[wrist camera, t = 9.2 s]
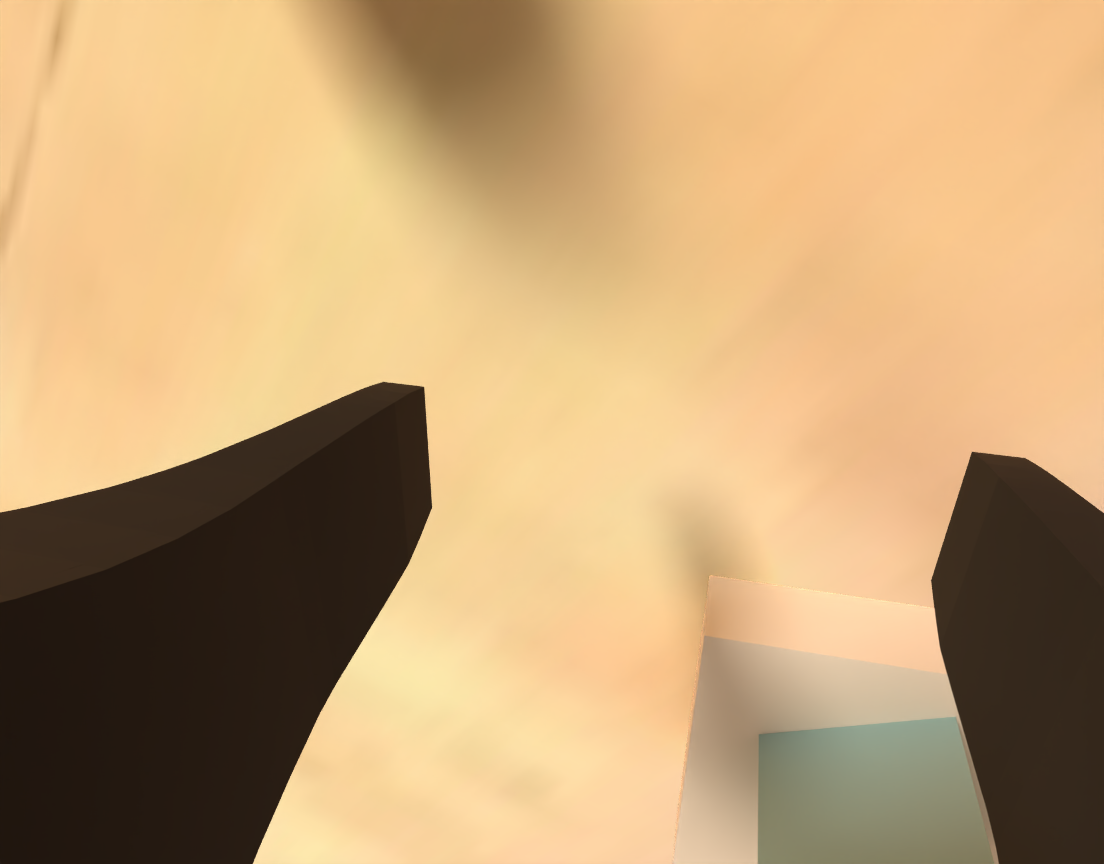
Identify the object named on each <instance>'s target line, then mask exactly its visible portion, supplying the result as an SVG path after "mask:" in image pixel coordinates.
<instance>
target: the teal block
mask: <svg viewBox="0 0 1104 864" xmlns="http://www.w3.org/2000/svg"><path fill="white" fill-rule="evenodd" d="M758 864H994V861H993V857H992V853H991V849H990V845H989V841H988V838H987V834H986V830H985V826H984V822H983V819H982V815H981V811H980V807H979V803H978V800H977V796H976V792H975V788H974V784H973V781H972V777H971V773H970V769H969V765H968V762H967V758H966V754H965V750H964V746H963V743H962V739H961V735H960V731H959V727H958V724H957V720H956V717H946V718H935V719H924V720H912V721H901V722H890V723H879V724H868V725H857V726H846V727H835V728H824V729H813V730H801V731H790V732H779V733H768V734H759V765H758Z"/></svg>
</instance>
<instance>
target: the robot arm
mask: <svg viewBox="0 0 1104 864" xmlns="http://www.w3.org/2000/svg"><path fill="white" fill-rule="evenodd" d="M431 509H432V499H431V484H430V469H429V454H428V439H427V424H426V409H425V393H424V387H421V386H413V385H404V384H396V383H388V382H382V383H379V384H375V385H372V386H369V387H366V388H364V389H361V390H359V391H356V392H354V393H351V394H349V395H347V396H344V397H342V398H340V399H338V400H335V401H333V402H331V403H329V404H326V405H324V406H322V407H320V408H317V409H315V410H313V411H311V412H309V413H306V414H304V415H302V416H300V417H297V418H295V419H293V420H291V421H288V422H286V423H284V424H282V425H280V426H277V427H275V428H273V429H271V430H268V431H266V432H263V433H261V434H259V435H256V436H254V437H251V438H249V439H246V440H244V441H241V442H239V443H236V444H234V445H231V446H229V447H226V448H224V449H221V450H219V451H217V452H214V453H212V454H209V455H207V456H204V457H202V458H199V459H196V460H193V461H191V462H188V463H185V464H182V465H179V466H176V467H173V468H170V469H168V470H165V471H161V472H158V473H155V474H152V475H149V476H145V477H142V478H139V479H136V480H132V481H129V482H126V483H123V484H119V485H116V486H112V487H109V488H105V489H101V490H96V491H92V492H88V493H84V494H80V495H76V496H72V497H68V498H64V499H59V500H55V501H51V502H47V503H43V504H39V505H35V506H31V507H26V508H21V509H17V510H11V511H6V512H1V513H0V864H253V862H254V859H255V857H256V854H257V852H258V849H259V847H260V845H261V842H262V840H263V838H264V836H265V833H266V831H267V829H268V826H269V824H270V822H271V819H272V817H273V815H274V813H275V810H276V808H277V806H278V803H279V801H280V799H281V797H282V794H283V792H284V790H285V787H286V785H287V783H288V781H289V778H290V776H291V774H292V772H293V770H294V767H295V765H296V763H297V761H298V759H299V757H300V755H301V753H302V750H303V748H304V746H305V744H306V742H307V740H308V738H309V735H310V733H311V731H312V729H313V727H314V725H315V723H316V720H317V718H318V716H319V714H320V712H321V710H322V709H323V707H324V705H325V703H326V701H327V699H328V698H329V696H330V694H331V692H332V690H333V689H334V687H335V685H336V683H337V682H338V680H339V678H340V677H341V675H342V673H343V672H344V670H345V669H346V667H347V665H348V664H349V662H350V660H351V659H352V657H353V655H354V654H355V652H356V650H357V649H358V647H359V646H360V644H361V642H362V641H363V639H364V637H365V636H366V634H367V632H368V631H369V629H370V628H371V626H372V624H373V623H374V621H375V619H376V618H377V616H378V614H379V613H380V611H381V610H382V608H383V606H384V605H385V603H386V601H387V600H388V598H389V596H390V595H391V593H392V591H393V590H394V588H395V586H396V584H397V583H398V581H399V579H400V578H401V576H402V574H403V573H404V571H405V569H406V567H407V566H408V564H409V562H410V559H411V557H412V555H413V553H414V550H415V548H416V546H417V543H418V541H419V539H420V536H421V534H422V531H423V529H424V526H425V524H426V521H427V519H428V516H429V514H430V511H431ZM931 582H932V591H933V600H934V608H935V617H936V624H937V631H938V638H939V645H940V650H941V654H942V657H943V661H944V665H945V668H946V672H947V675H948V679H949V683H950V686H951V690H952V693H953V697H954V700H955V704H956V707H957V710H958V714H959V717H960V721H961V724H962V727H963V731H964V734H965V738H966V741H967V744H968V748H969V751H970V755H971V758H972V761H973V765H974V768H975V772H976V775H977V778H978V782H979V785H980V789H981V792H982V795H983V799H984V802H985V806H986V809H987V813H988V817H989V821H990V825H991V829H992V834H993V838H994V842H995V846H996V851H997V856H998V862H999V864H1104V513H1103V512H1101V511H1100V510H1099V509H1097V508H1096V507H1095V506H1093V505H1092V504H1091V503H1089V502H1088V501H1087V500H1085V499H1084V498H1083V497H1081V496H1080V495H1079V494H1077V493H1076V492H1075V491H1073V490H1072V489H1071V488H1069V487H1068V486H1066V485H1065V484H1064V483H1062V482H1061V481H1059V480H1058V479H1057V478H1055V477H1054V476H1052V475H1051V474H1050V473H1048V472H1047V471H1045V470H1044V469H1042V468H1041V467H1039V466H1038V465H1036V464H1034V463H1033V462H1031V461H1029V460H1027V459H1026V458H1019V457H1011V456H1002V455H994V454H986V453H977V452H972V454H971V457H970V460H969V463H968V466H967V469H966V473H965V476H964V479H963V482H962V485H961V488H960V491H959V495H958V498H957V501H956V504H955V507H954V510H953V513H952V517H951V520H950V523H949V526H948V529H947V532H946V536H945V539H944V542H943V545H942V548H941V551H940V554H939V558H938V561H937V564H936V567H935V570H934V573H933V576H932V580H931Z"/></svg>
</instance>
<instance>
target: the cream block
mask: <svg viewBox="0 0 1104 864" xmlns="http://www.w3.org/2000/svg"><path fill="white" fill-rule="evenodd" d="M946 717H956V720H957V724H958V727H959V731H960V735H961V739H962V743H963V746H964V750H965V754H966V758H967V762H968V765H969V769H970V773H971V777H972V781H973V784H974V788H975V792H976V796H977V800H978V803H979V807H980V811H981V815H982V819H983V822H984V826H985V830H986V834H987V838H988V841H989V845H990V849H991V853H992V857H993V861H994V864H999V862H998V856H997V851H996V846H995V842H994V838H993V834H992V829H991V825H990V821H989V817H988V813H987V809H986V806H985V802H984V799H983V795H982V792H981V789H980V785H979V782H978V778H977V775H976V772H975V768H974V765H973V761H972V758H971V755H970V751H969V748H968V744H967V741H966V738H965V734H964V731H963V727H962V724H961V721H960V717H959V714H958V710H957V707H956V704H955V700H954V697H953V693H952V690H951V686H950V683H949V679H948V675H947V672H946V668H945V665H944V661H943V657H942V654H941V650H940V645H939V638H938V631H937V624H936V617H935V608H931V607H925V606H918V605H911V604H904V603H897V602H891V601H884V600H877V599H870V598H863V597H857V596H850V595H843V594H836V593H829V592H822V591H816V590H809V589H802V588H795V587H788V586H782V585H775V584H768V583H761V582H754V581H748V580H741V579H734V578H727V577H720V576H714V575H709V582H708V590H707V597H706V604H705V612H704V619H703V626H702V634H701V641H700V648H699V656H698V663H697V670H696V678H695V685H694V692H693V700H692V707H691V714H690V722H689V729H688V736H687V744H686V751H685V758H684V766H683V773H682V780H681V788H680V795H679V803H678V813H677V823H676V833H675V843H674V853H673V864H758V765H759V734H768V733H779V732H790V731H801V730H813V729H824V728H835V727H846V726H857V725H868V724H879V723H890V722H901V721H912V720H924V719H935V718H946Z"/></svg>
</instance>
